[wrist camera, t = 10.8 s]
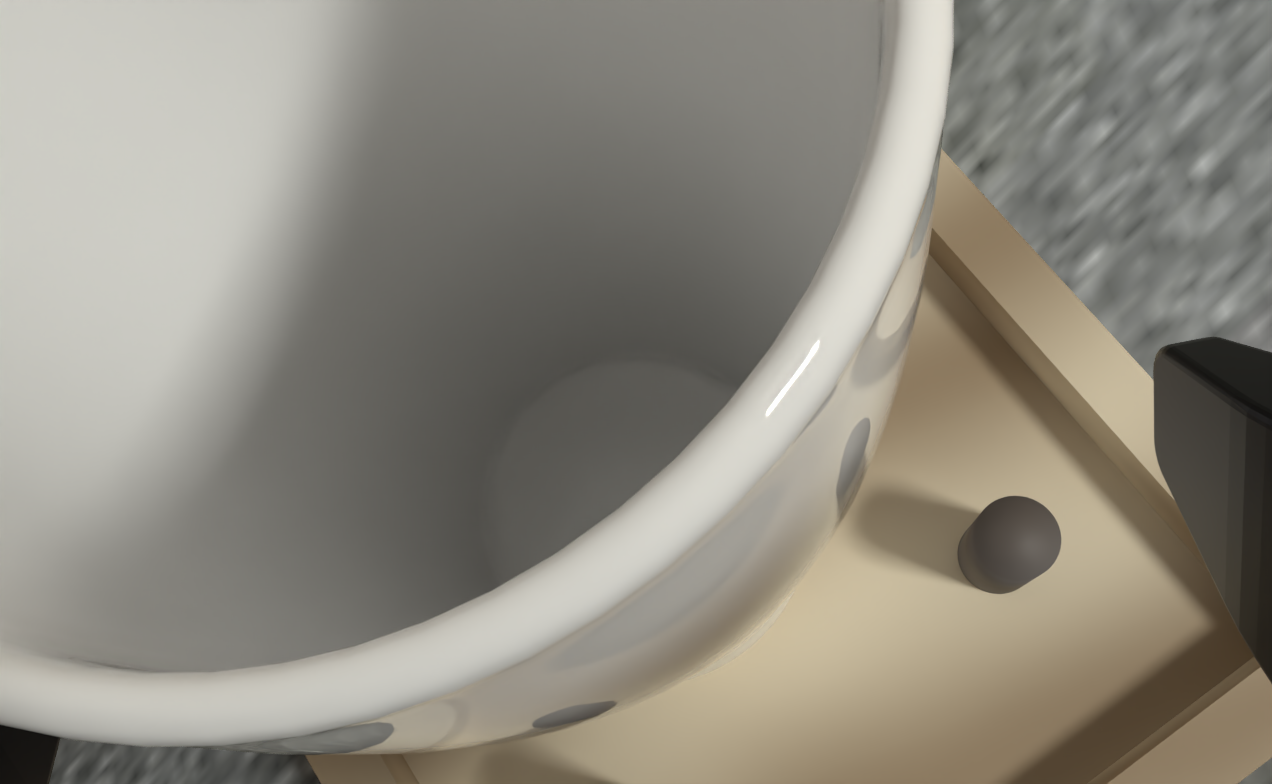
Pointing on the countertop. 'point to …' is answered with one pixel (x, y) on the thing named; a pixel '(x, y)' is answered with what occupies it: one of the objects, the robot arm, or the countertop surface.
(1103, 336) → the pin tray
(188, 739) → the drinking glass
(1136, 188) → the countertop surface
